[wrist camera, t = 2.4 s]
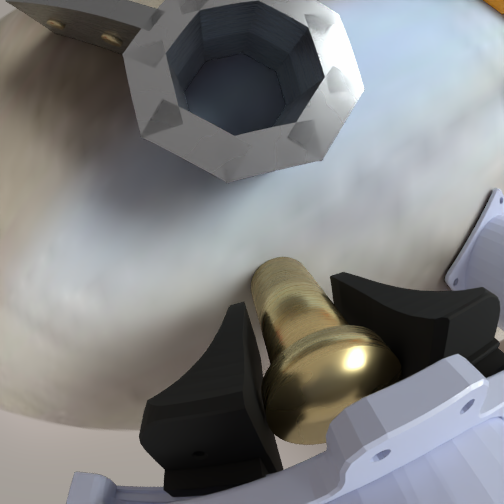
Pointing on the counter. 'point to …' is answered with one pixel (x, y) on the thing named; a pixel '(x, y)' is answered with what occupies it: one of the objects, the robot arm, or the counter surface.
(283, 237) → the counter surface
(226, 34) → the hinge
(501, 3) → the bracket
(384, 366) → the hinge pin
